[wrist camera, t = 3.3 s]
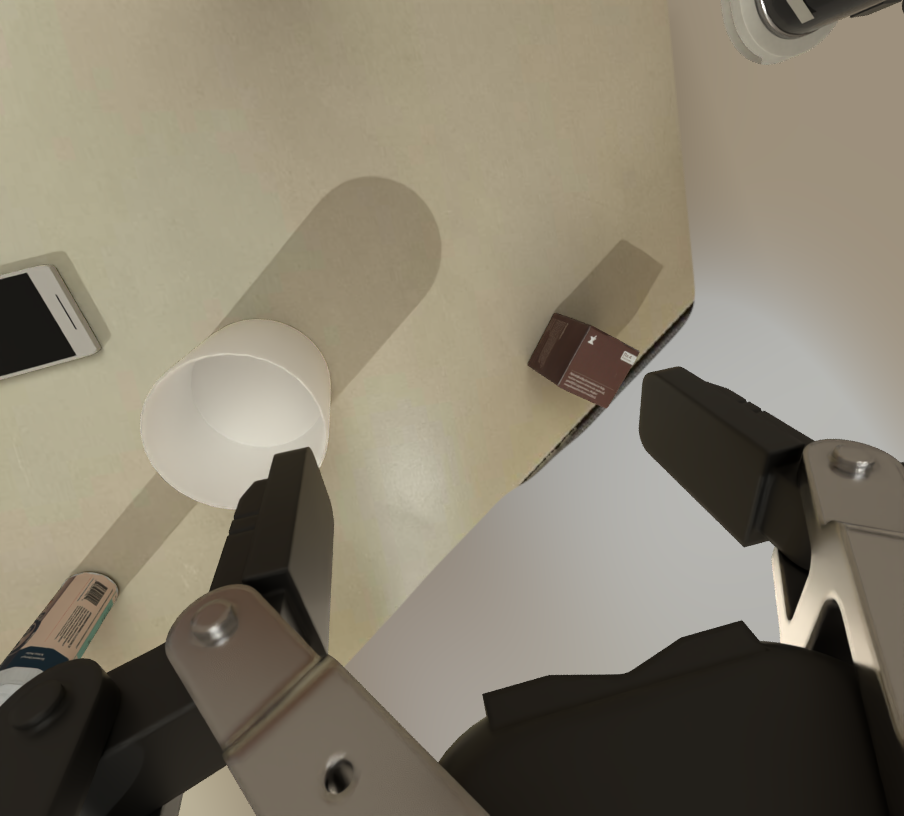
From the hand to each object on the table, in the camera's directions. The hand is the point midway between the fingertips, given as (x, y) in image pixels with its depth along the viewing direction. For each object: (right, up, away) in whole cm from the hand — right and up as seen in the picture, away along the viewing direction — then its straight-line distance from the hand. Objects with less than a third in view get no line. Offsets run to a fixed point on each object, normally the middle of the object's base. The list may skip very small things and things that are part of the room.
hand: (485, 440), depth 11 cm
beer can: (-36, -17, +34) cm, 52 cm away
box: (+11, +7, +37) cm, 39 cm away
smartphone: (-38, +6, +25) cm, 45 cm away
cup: (-18, +3, +31) cm, 36 cm away
